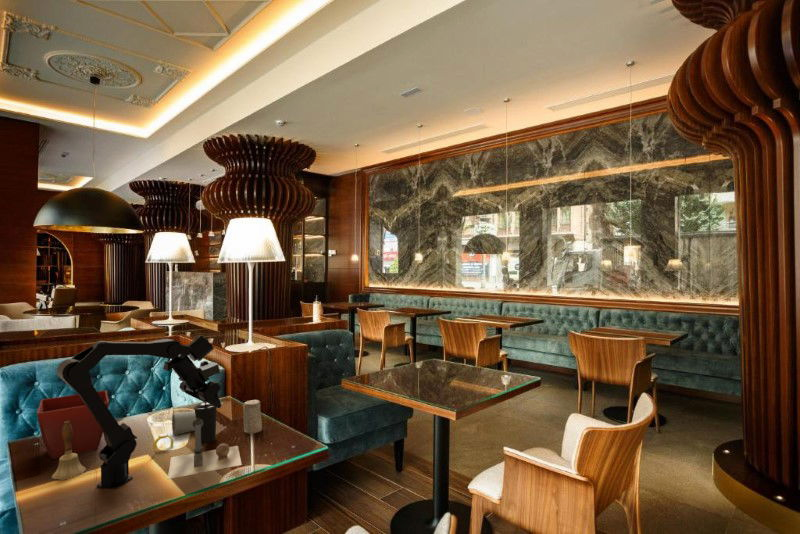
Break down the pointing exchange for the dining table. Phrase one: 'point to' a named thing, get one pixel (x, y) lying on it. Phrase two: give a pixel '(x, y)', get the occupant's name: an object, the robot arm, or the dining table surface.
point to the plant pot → (80, 419)
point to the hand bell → (68, 457)
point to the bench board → (202, 462)
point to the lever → (197, 434)
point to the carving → (252, 416)
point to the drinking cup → (207, 421)
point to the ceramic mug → (183, 422)
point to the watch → (160, 438)
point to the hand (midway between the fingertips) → (213, 404)
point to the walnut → (222, 451)
